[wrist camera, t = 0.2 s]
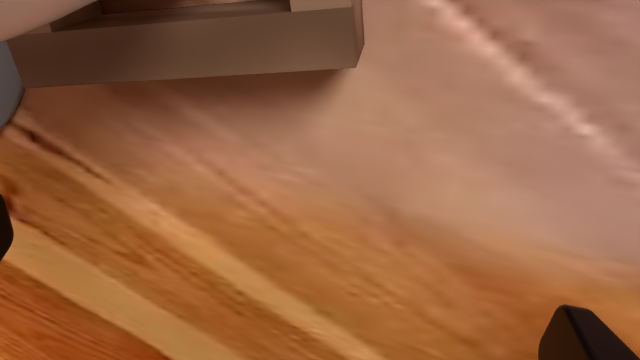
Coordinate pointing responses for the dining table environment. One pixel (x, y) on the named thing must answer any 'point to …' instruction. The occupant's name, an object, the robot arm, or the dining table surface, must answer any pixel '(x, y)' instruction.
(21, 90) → the slate mat
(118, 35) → the wooden holder tray
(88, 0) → the drinking glass
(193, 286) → the dining table surface
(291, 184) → the dining table surface
